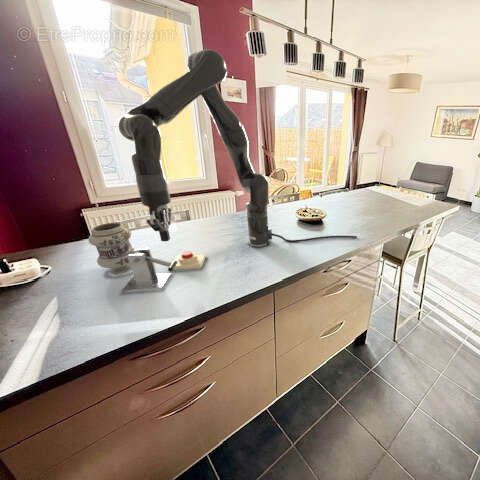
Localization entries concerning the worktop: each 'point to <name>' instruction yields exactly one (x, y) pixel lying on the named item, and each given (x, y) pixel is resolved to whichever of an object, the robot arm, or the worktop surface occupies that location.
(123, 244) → the apothecary jar
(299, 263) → the worktop surface
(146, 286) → the bracket
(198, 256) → the button block
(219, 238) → the worktop surface
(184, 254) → the button
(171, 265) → the lever
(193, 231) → the worktop surface
